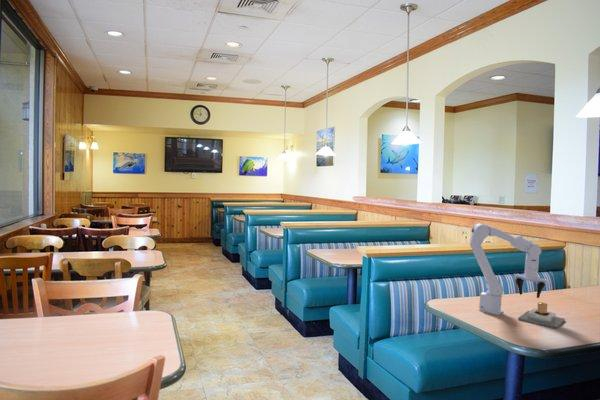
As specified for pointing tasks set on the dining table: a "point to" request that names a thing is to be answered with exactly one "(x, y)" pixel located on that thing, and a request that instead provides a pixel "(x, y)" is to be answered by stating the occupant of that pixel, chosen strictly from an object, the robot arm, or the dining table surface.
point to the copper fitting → (542, 308)
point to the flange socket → (542, 319)
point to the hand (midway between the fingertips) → (529, 295)
